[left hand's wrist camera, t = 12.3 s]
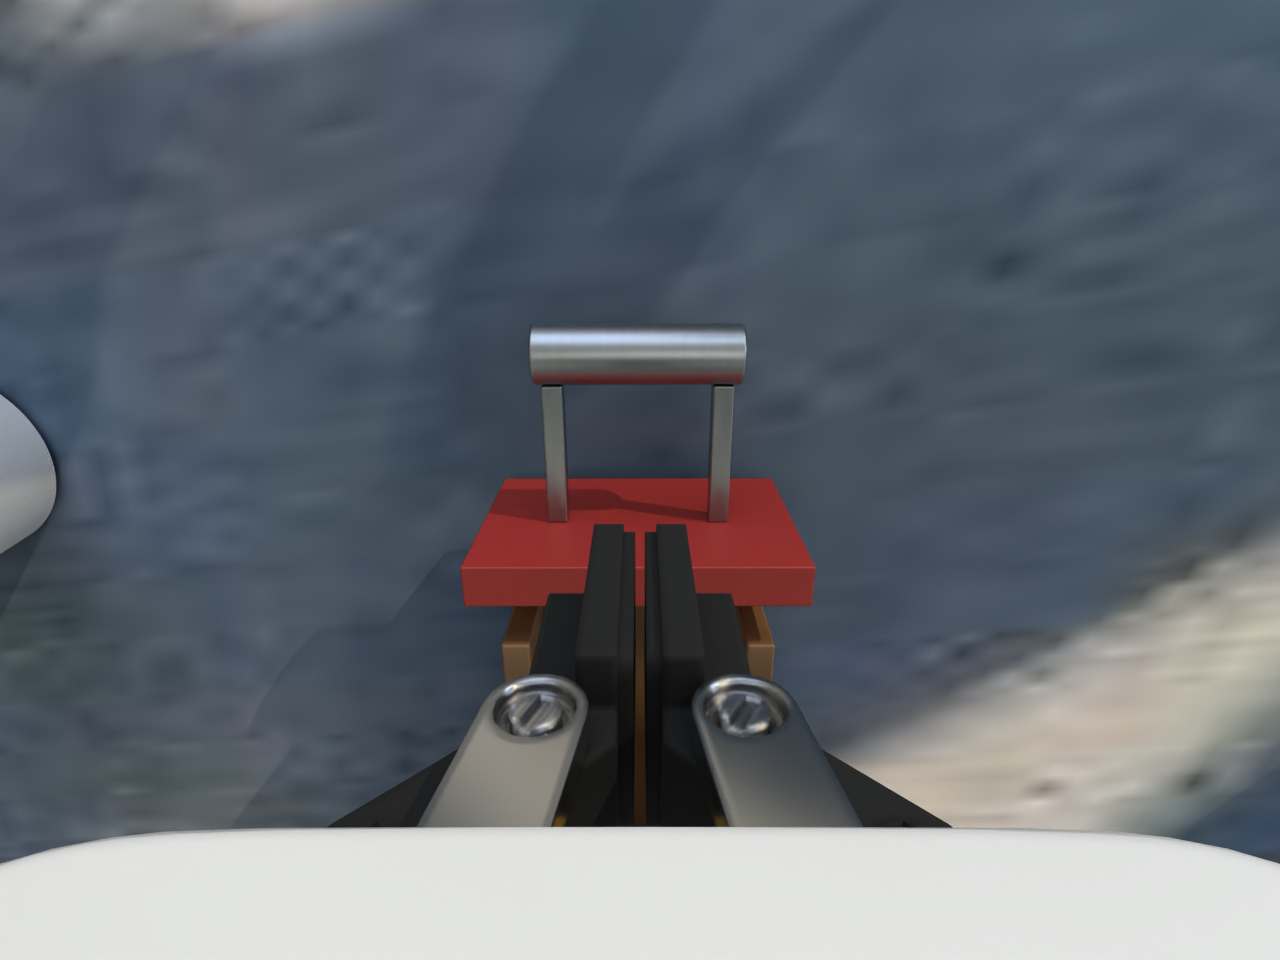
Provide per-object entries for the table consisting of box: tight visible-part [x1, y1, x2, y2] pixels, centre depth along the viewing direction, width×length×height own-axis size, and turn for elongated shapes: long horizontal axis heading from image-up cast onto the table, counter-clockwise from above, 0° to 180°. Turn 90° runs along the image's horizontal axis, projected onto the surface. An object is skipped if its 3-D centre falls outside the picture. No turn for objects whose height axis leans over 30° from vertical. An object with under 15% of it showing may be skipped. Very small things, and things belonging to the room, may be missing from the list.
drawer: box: [460, 323, 816, 827], centre depth 23 cm, size 23×9×6 cm, turn 0°
